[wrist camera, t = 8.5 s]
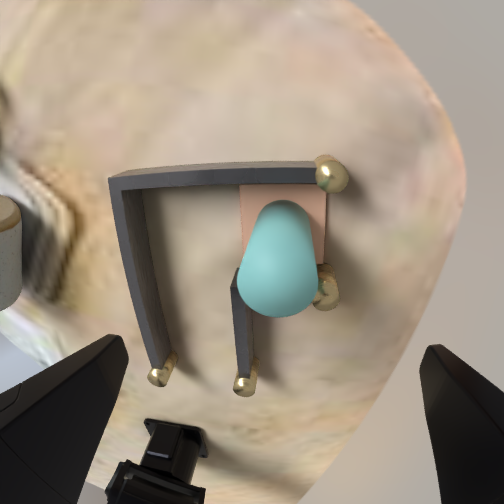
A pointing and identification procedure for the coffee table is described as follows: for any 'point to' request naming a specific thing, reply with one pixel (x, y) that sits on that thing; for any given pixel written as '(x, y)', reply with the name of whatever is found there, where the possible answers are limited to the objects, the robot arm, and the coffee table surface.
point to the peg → (279, 262)
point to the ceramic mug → (10, 252)
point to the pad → (300, 193)
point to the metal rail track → (145, 288)
